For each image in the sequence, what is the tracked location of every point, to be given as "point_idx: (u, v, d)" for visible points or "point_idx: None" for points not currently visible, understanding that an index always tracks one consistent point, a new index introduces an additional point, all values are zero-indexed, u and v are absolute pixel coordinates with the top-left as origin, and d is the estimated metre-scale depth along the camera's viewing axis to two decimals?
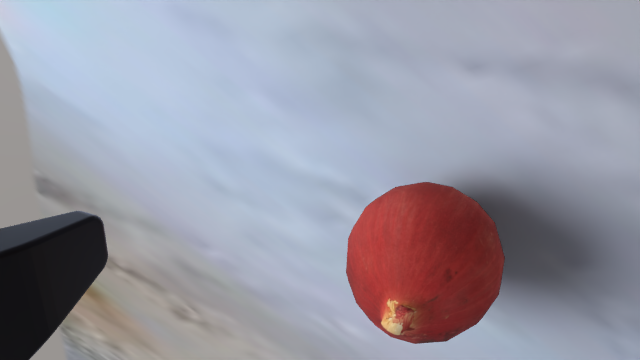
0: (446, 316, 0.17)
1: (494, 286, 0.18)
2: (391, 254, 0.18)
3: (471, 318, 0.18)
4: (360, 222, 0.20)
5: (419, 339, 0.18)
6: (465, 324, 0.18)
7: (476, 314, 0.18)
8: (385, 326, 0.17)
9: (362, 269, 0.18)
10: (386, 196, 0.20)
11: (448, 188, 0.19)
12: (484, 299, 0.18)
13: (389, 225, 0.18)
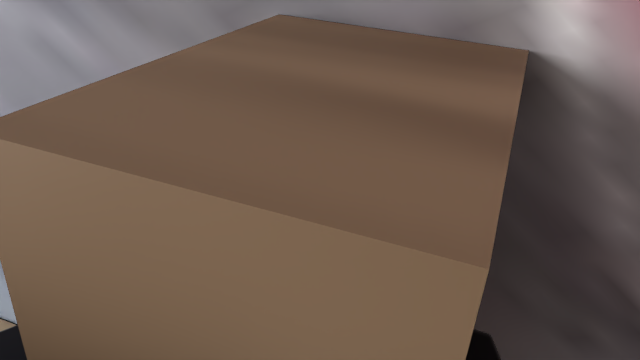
0: None
1: None
2: None
3: None
4: None
5: None
6: None
7: None
8: None
9: None
10: None
11: None
12: None
13: None
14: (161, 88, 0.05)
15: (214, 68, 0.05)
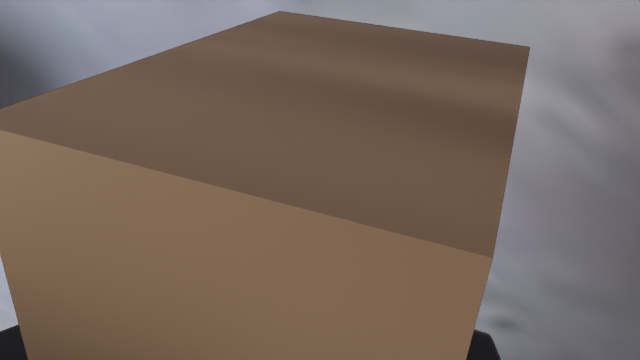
0: None
1: None
2: None
3: None
4: None
5: None
6: None
7: None
8: None
9: None
10: None
11: None
12: None
13: None
14: (162, 81, 0.05)
15: (215, 62, 0.05)
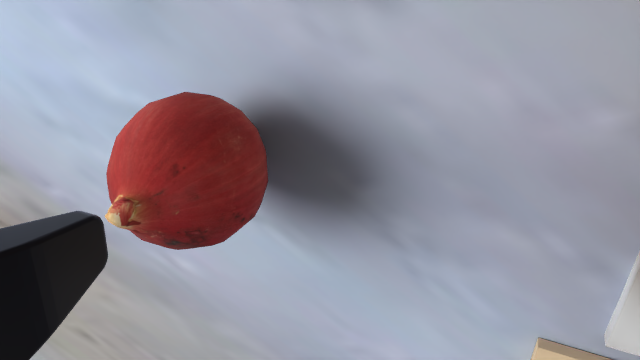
0: (175, 211, 0.18)
1: (237, 187, 0.18)
2: (127, 152, 0.18)
3: (212, 218, 0.18)
4: (121, 130, 0.20)
5: (160, 238, 0.18)
6: (208, 224, 0.18)
7: (217, 214, 0.18)
8: (107, 218, 0.17)
9: (109, 171, 0.19)
10: (147, 104, 0.20)
11: (206, 96, 0.20)
12: (223, 198, 0.18)
13: (133, 126, 0.18)
14: None
15: None
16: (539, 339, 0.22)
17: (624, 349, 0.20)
